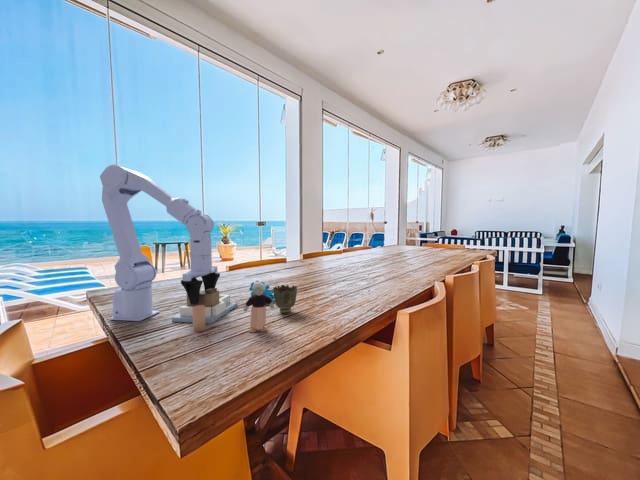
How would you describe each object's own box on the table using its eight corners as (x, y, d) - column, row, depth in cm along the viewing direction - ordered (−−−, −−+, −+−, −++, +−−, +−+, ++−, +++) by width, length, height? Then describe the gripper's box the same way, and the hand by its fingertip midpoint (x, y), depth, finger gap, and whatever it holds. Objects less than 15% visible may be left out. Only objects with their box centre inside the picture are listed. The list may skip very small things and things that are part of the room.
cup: (268, 314, 79) (268, 288, 78) (281, 307, 85) (280, 283, 85) (290, 318, 76) (289, 291, 75) (301, 310, 83) (301, 285, 82)
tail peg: (190, 331, 67) (189, 308, 66) (197, 326, 70) (196, 304, 69) (201, 331, 66) (200, 308, 66) (207, 327, 69) (207, 305, 69)
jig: (171, 321, 73) (171, 308, 73) (204, 304, 89) (204, 294, 89) (211, 323, 72) (210, 310, 72) (237, 306, 88) (237, 295, 87)
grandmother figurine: (246, 335, 64) (245, 284, 63) (243, 330, 67) (242, 281, 66) (276, 329, 67) (275, 281, 67) (271, 324, 71) (271, 278, 70)
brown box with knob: (187, 313, 76) (186, 290, 76) (195, 309, 80) (194, 287, 80) (212, 314, 75) (211, 291, 75) (219, 310, 79) (219, 287, 79)
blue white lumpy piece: (259, 304, 84) (246, 280, 88) (249, 314, 86) (238, 290, 91) (282, 301, 93) (270, 279, 97) (273, 310, 95) (261, 288, 100)
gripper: (198, 258, 69) (200, 308, 70) (225, 252, 84) (226, 294, 84) (174, 257, 70) (176, 307, 71) (205, 252, 85) (206, 293, 85)
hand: (202, 300), depth 78 cm, fingers open, 7 cm apart
